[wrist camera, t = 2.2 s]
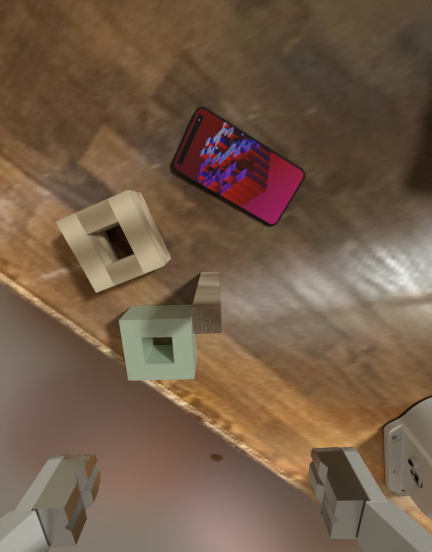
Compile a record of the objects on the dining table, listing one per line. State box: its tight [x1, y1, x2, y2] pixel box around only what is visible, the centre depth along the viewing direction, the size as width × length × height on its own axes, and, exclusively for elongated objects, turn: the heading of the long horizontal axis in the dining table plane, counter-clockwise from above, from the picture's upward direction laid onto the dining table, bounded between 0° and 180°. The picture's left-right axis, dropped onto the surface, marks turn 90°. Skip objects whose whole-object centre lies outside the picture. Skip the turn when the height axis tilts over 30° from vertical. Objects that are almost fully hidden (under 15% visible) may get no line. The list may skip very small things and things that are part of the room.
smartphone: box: [172, 107, 305, 226], centre depth 28 cm, size 8×1×15 cm
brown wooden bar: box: [191, 272, 222, 334], centre depth 26 cm, size 3×3×12 cm
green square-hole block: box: [119, 305, 197, 380], centre depth 32 cm, size 9×9×4 cm
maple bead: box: [56, 190, 171, 293], centre depth 28 cm, size 9×9×4 cm
